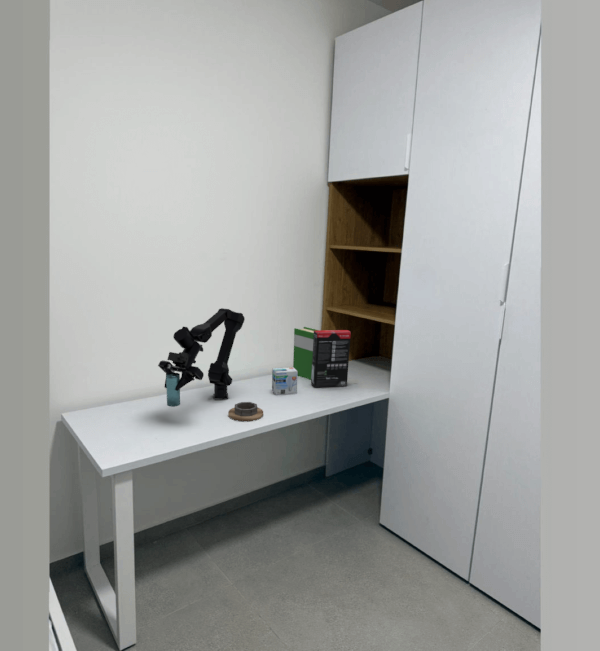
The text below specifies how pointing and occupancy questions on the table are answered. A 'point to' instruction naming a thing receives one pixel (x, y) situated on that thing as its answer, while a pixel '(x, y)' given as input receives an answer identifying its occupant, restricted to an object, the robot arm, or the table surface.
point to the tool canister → (172, 389)
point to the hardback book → (303, 351)
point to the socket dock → (245, 412)
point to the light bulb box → (284, 380)
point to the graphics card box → (330, 358)
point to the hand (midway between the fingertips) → (170, 389)
